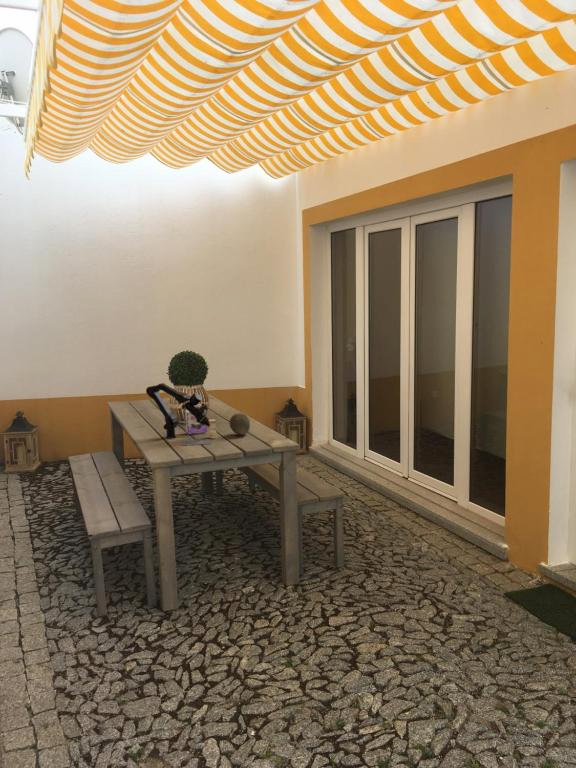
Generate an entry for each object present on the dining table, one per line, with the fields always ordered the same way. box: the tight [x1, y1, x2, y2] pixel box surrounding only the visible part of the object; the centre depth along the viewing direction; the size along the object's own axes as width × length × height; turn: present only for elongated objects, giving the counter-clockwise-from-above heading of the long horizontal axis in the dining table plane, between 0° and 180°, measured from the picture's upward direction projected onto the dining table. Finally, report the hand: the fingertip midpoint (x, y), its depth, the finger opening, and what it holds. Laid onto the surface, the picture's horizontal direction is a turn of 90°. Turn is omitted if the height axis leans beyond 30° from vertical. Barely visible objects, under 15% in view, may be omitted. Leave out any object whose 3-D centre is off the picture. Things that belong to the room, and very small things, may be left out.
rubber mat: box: [181, 438, 211, 447], centre depth 424 cm, size 14×18×1 cm
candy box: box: [184, 409, 208, 435], centre depth 451 cm, size 14×6×16 cm, turn 112°
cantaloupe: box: [228, 413, 251, 436], centre depth 442 cm, size 14×14×15 cm
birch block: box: [208, 419, 217, 439], centre depth 436 cm, size 4×4×12 cm
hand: (209, 424), depth 435 cm, fingers open, 9 cm apart
